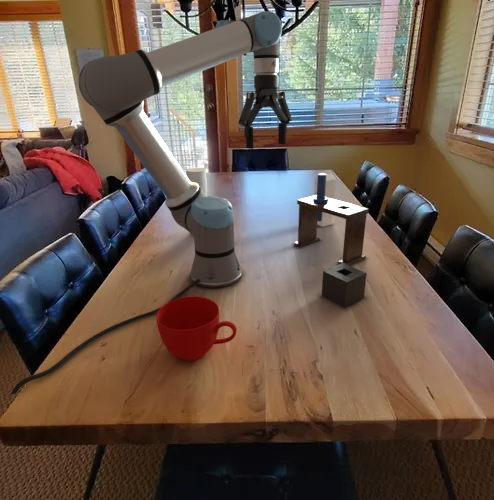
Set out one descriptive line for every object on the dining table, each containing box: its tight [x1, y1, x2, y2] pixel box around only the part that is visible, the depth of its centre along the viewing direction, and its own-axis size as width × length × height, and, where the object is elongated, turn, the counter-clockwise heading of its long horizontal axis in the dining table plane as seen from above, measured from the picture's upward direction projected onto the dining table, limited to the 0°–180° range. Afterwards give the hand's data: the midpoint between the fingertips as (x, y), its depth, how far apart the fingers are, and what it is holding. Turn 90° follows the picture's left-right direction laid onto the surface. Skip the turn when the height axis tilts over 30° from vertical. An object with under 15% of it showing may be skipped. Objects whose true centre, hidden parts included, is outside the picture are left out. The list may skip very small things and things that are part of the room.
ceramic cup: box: [155, 295, 238, 362], centre depth 79 cm, size 13×17×10 cm
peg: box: [313, 172, 328, 221], centre depth 125 cm, size 5×5×16 cm
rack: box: [293, 195, 370, 266], centre depth 126 cm, size 10×24×17 cm, turn 38°
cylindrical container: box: [185, 167, 208, 196], centre depth 142 cm, size 7×7×25 cm
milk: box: [313, 169, 337, 228], centre depth 151 cm, size 6×6×22 cm
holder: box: [321, 263, 368, 308], centre depth 100 cm, size 8×8×8 cm
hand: (266, 146), depth 122 cm, fingers open, 13 cm apart
